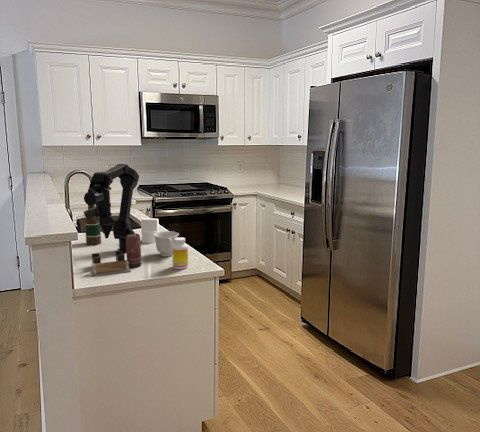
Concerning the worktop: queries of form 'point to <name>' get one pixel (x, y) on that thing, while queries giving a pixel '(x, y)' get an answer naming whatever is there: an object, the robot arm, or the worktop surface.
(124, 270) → the mat
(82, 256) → the worktop surface
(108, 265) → the rail
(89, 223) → the beer bottle
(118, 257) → the post
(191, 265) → the worktop surface
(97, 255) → the post
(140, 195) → the worktop surface
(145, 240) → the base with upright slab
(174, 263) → the supplement bottle
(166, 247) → the teacup
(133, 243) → the can
